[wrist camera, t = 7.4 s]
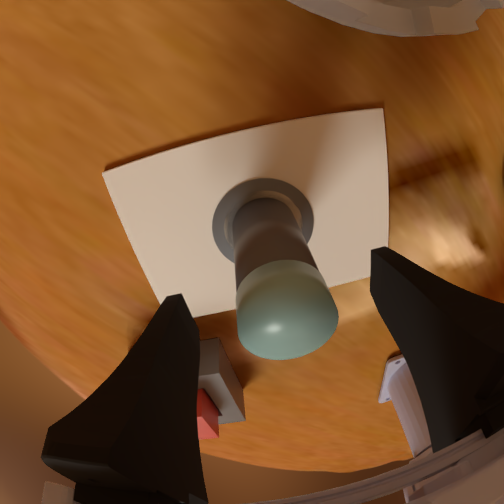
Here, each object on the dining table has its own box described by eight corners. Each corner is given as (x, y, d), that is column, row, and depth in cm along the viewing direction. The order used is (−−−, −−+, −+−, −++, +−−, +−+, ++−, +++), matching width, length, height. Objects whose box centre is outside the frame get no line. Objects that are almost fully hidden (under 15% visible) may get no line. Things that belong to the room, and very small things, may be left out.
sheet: (380, 107, 13) (383, 108, 13) (384, 269, 18) (387, 272, 18) (103, 171, 14) (100, 174, 13) (170, 318, 19) (169, 322, 19)
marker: (300, 246, 16) (338, 347, 10) (239, 260, 17) (250, 367, 11) (290, 190, 15) (336, 277, 9) (223, 205, 15) (225, 302, 9)
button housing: (218, 337, 20) (219, 373, 18) (242, 390, 24) (245, 420, 21) (128, 351, 20) (120, 384, 18) (166, 400, 24) (163, 428, 22)
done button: (201, 385, 19) (201, 416, 17) (218, 410, 21) (218, 437, 19) (153, 391, 19) (150, 420, 17) (174, 414, 21) (172, 440, 19)
